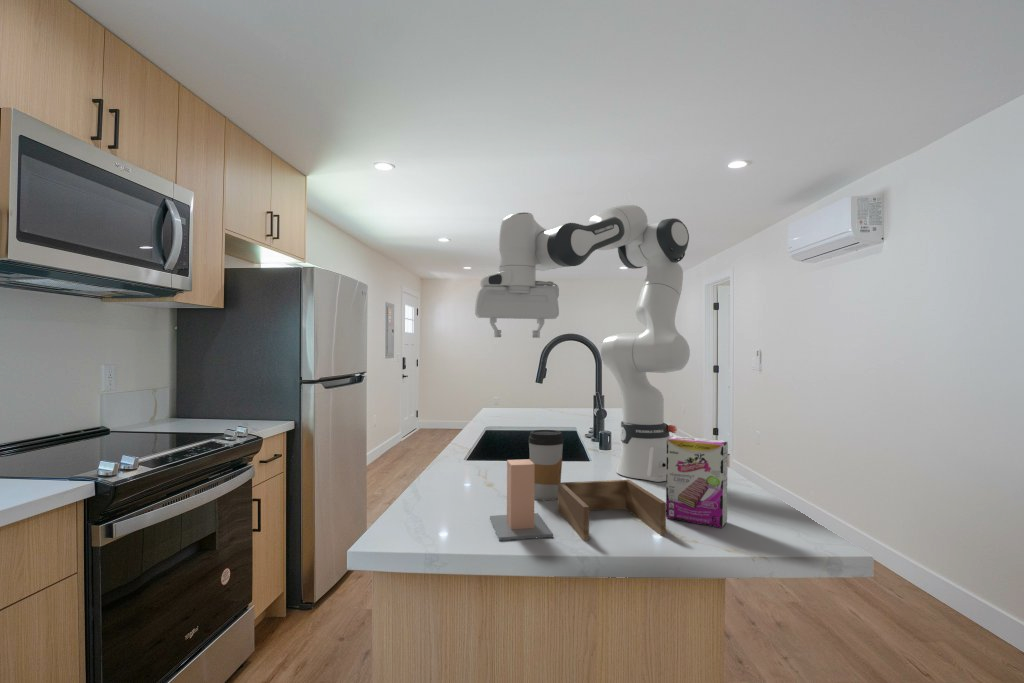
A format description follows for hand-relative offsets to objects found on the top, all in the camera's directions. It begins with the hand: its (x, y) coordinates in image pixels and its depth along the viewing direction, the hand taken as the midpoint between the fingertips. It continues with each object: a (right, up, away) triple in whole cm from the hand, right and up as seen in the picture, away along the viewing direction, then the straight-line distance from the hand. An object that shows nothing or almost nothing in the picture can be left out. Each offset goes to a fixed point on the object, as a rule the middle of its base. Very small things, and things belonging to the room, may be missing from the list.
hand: (517, 337), depth 124 cm
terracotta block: (0, -36, -25) cm, 44 cm away
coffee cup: (+7, -37, -4) cm, 38 cm away
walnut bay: (+18, -37, -21) cm, 46 cm away
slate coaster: (0, -37, -25) cm, 44 cm away
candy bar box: (+36, -37, -20) cm, 56 cm away
